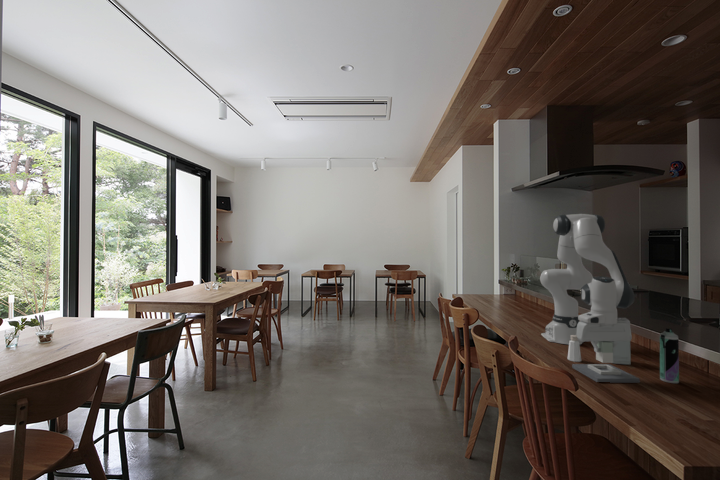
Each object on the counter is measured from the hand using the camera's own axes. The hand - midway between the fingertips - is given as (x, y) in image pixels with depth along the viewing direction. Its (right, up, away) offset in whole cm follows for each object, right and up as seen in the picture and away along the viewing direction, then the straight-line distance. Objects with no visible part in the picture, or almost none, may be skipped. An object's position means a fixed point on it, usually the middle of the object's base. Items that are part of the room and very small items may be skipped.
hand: (604, 352), depth 142 cm
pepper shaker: (-1, -10, +18) cm, 20 cm away
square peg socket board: (0, -9, 0) cm, 9 cm away
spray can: (+21, -9, -6) cm, 24 cm away
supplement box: (+17, -10, +16) cm, 25 cm away
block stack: (0, -4, 0) cm, 4 cm away
